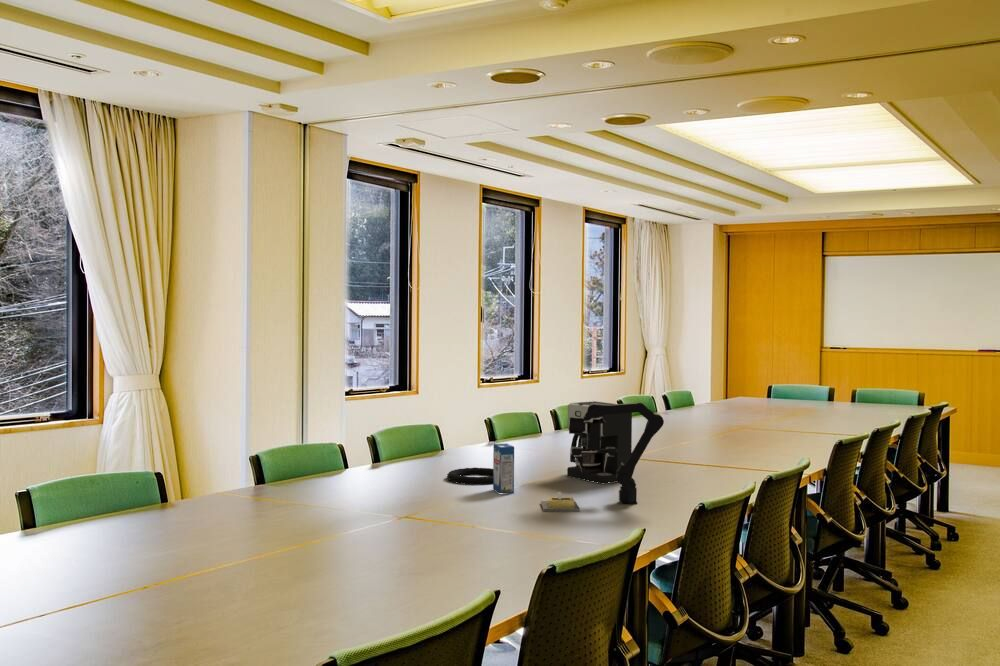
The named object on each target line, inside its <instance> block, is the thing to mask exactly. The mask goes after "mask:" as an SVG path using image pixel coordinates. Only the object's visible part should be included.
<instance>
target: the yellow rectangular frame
mask: <svg viewBox="0 0 1000 666" xmlns="http://www.w3.org/2000/svg"><path fill="white" fill-rule="evenodd" d="M546 501H547V504H548V506H549V507H574V501H575V500H574V498H573V497H572V496H571V497H570V496H565V497H564V496H562V500H557V496H555V497H554V496H550V497H549V496H547V499H546Z"/></svg>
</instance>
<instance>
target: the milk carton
mask: <svg viewBox="0 0 1000 666" xmlns="http://www.w3.org/2000/svg"><path fill="white" fill-rule="evenodd" d="M492 452H493V454H492V457H493V459H492V460H493V461H492V462H493V463H492V464H493V465H492V466H493V468H492V469H493V484H492V490H493V489H494V490H496V491H497V492H499V493H513V494H515V446H513V445H512V444H509V443H493V451H492ZM494 490H493V491H494ZM496 491H495V492H496ZM497 492H496V493H497ZM499 493H498V494H499Z"/></svg>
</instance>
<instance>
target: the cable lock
mask: <svg viewBox="0 0 1000 666" xmlns="http://www.w3.org/2000/svg"><path fill="white" fill-rule="evenodd" d="M470 474H473V475H472V476H471V475H470ZM474 474H479V475H478V476H475V475H474ZM446 475H447V476H446V478H447V480H448V481H449V482H451V481H452V482H451V483H455V482H457V483H456V484H461V483H465V484H464V485H474V484H480V485H491V484H490V483H493V468H489V467H488V468H487V467H465V468H457V469H454V470H450V471H449V472H448V473H447V474H446ZM460 475H464V476H460ZM488 475H492V476H488Z"/></svg>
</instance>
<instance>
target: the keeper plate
mask: <svg viewBox="0 0 1000 666" xmlns="http://www.w3.org/2000/svg"><path fill="white" fill-rule="evenodd" d="M556 497H557V500H562V497H563V491H557V496H556ZM540 505H542V506H541V507H543V508H542V510H544V511H543V512H581V511H580V509H581V508H580V507H579V505H578V504H577V501H576V500H574V507H549V506H548V504H547V500H540Z"/></svg>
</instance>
